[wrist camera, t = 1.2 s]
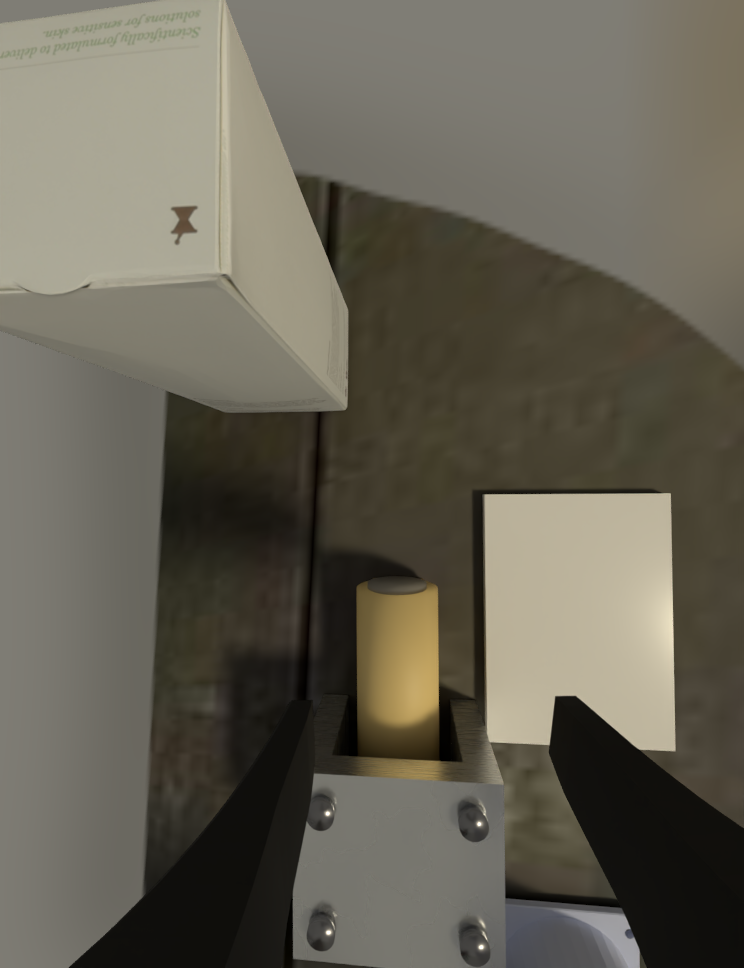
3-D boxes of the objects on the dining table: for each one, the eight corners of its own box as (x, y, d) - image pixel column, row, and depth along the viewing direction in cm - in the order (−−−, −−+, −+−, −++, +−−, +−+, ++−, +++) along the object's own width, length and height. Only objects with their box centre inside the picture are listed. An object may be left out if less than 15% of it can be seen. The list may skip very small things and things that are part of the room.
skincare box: (350, 311, 24) (244, -31, 8) (349, 419, 24) (238, 283, 8) (218, 314, 24) (-111, 7, 9) (216, 419, 24) (-120, 294, 9)
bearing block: (477, 839, 22) (508, 992, 16) (324, 828, 23) (290, 969, 16) (475, 700, 23) (506, 792, 16) (323, 694, 23) (289, 778, 17)
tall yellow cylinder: (436, 747, 23) (443, 808, 19) (362, 744, 23) (352, 802, 19) (434, 574, 23) (441, 594, 19) (361, 573, 24) (351, 592, 19)
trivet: (667, 744, 22) (675, 751, 21) (485, 735, 23) (487, 741, 22) (663, 493, 22) (670, 493, 21) (482, 494, 23) (484, 494, 22)
